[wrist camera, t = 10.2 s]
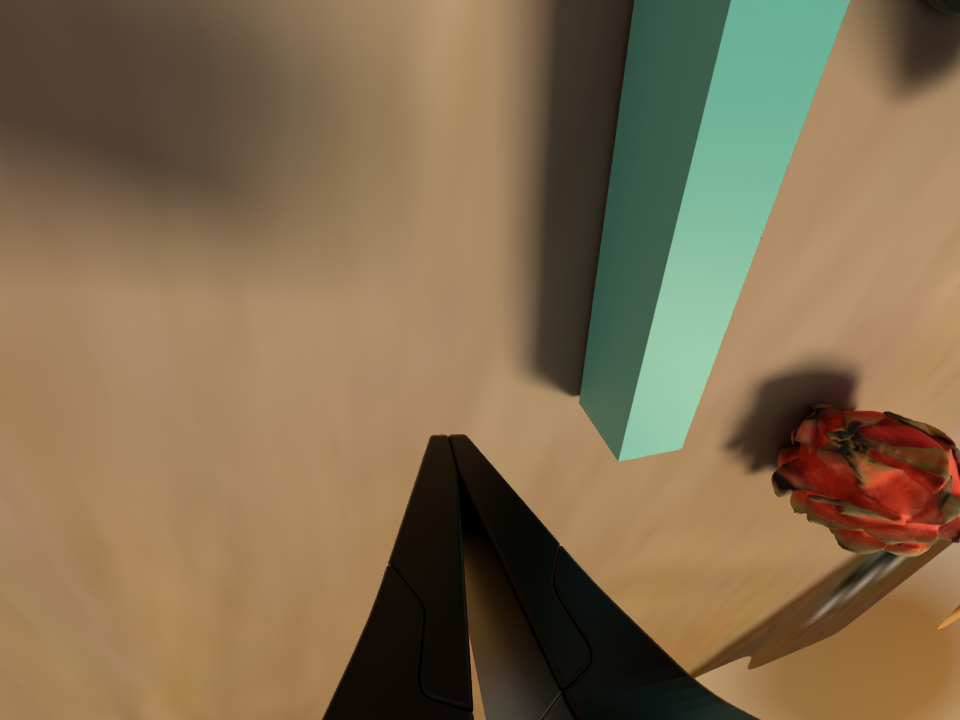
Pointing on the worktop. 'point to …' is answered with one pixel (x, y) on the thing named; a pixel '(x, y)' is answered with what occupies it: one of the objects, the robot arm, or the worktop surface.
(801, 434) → the dragon fruit
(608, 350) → the folding leg
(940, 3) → the milk frother
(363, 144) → the worktop surface
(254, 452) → the worktop surface
